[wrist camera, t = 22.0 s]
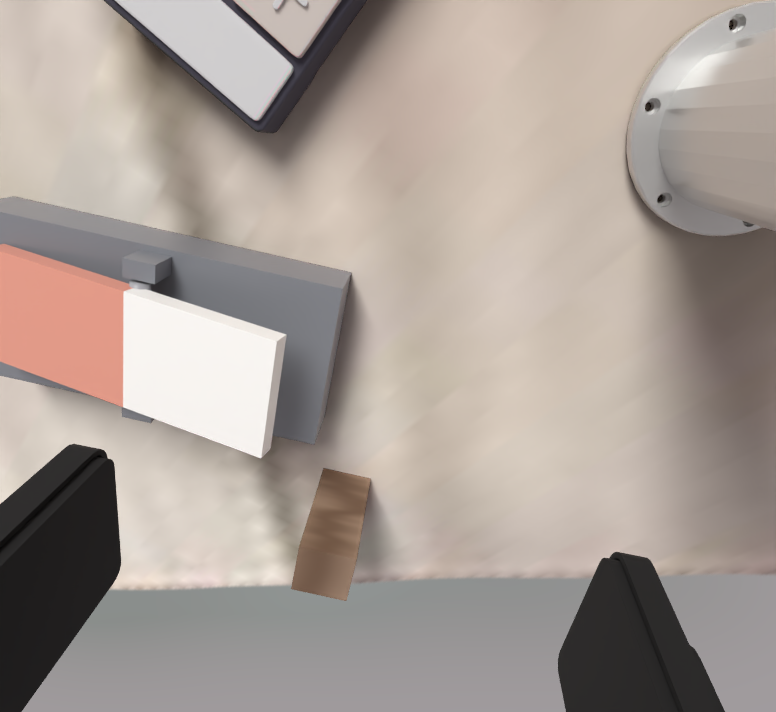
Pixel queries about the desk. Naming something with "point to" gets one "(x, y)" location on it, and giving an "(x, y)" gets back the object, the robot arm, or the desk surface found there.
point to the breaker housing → (203, 293)
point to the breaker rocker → (141, 349)
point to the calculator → (246, 47)
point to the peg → (332, 536)
